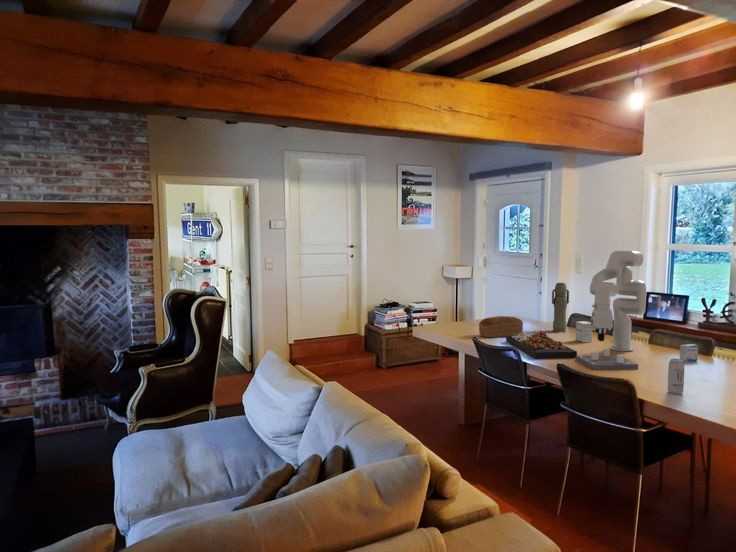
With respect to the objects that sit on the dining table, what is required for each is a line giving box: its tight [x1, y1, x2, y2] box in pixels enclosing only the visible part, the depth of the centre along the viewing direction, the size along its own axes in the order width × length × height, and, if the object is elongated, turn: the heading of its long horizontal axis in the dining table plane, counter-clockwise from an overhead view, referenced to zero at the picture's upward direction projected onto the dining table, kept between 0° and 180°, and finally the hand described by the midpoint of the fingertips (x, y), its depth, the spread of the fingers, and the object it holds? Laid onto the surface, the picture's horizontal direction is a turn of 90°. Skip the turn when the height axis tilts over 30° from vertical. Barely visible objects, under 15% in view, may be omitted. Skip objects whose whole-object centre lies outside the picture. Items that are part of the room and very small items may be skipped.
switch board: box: [575, 354, 639, 371], centre depth 272 cm, size 20×24×3 cm
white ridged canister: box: [575, 320, 593, 343], centre depth 329 cm, size 7×7×13 cm
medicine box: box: [679, 343, 699, 362], centre depth 280 cm, size 8×4×9 cm, turn 105°
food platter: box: [505, 328, 578, 360], centre depth 307 cm, size 45×25×10 cm, turn 5°
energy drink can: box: [667, 357, 686, 396], centre depth 223 cm, size 6×6×15 cm
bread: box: [478, 315, 524, 338], centre depth 348 cm, size 12×31×14 cm, turn 104°
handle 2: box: [616, 354, 625, 363], centre depth 265 cm, size 2×3×4 cm, turn 92°
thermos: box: [551, 282, 570, 333], centre depth 361 cm, size 9×12×35 cm
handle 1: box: [602, 348, 611, 357], centre depth 279 cm, size 2×3×4 cm, turn 92°
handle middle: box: [591, 351, 600, 360], centre depth 271 cm, size 2×3×4 cm, turn 93°
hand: (600, 340), depth 271 cm, fingers closed
